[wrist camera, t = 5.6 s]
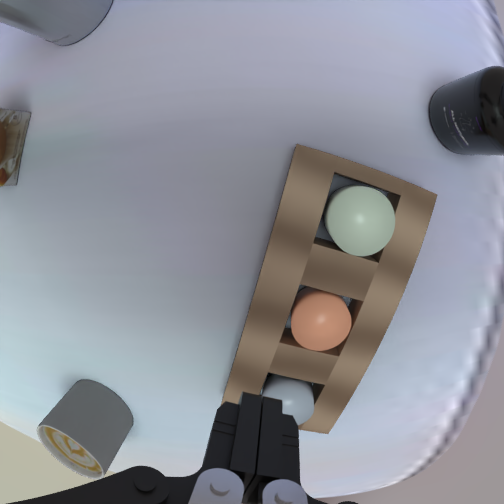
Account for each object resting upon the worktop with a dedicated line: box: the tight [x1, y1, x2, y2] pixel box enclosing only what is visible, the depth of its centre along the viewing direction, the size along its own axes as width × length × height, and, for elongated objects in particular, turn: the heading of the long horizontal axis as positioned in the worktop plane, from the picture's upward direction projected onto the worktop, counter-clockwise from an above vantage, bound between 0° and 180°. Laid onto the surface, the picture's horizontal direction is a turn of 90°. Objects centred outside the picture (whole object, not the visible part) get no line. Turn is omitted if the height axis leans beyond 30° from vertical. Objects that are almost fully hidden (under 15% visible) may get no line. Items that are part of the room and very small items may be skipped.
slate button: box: [262, 374, 314, 425], centre depth 27 cm, size 5×5×3 cm
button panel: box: [221, 144, 437, 434], centre depth 26 cm, size 26×12×3 cm, turn 165°
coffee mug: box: [37, 380, 133, 479], centre depth 30 cm, size 13×10×10 cm
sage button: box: [324, 185, 395, 256], centre depth 22 cm, size 5×5×3 cm
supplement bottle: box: [430, 66, 504, 155], centre depth 16 cm, size 7×7×12 cm
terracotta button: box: [291, 286, 351, 351], centre depth 26 cm, size 5×5×3 cm
